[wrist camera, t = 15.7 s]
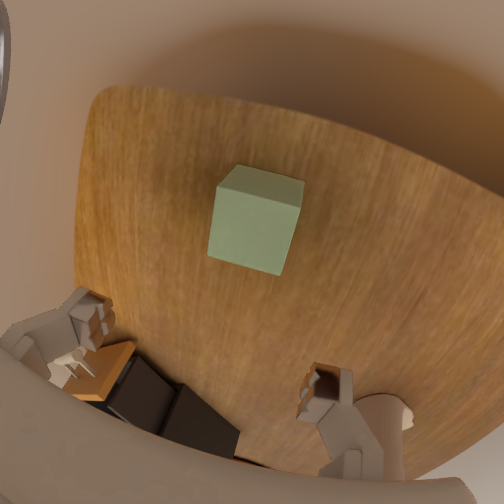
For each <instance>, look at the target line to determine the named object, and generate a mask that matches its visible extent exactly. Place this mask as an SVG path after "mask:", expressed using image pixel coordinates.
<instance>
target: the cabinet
mask: <svg viewBox="0 0 504 504" xmlns="http://www.w3.org/2000/svg"><path fill="white" fill-rule="evenodd" d="M169 386H170V387H171V388H172V389H173V390H175V391H176V392H177V394H176V396H175V399H174V401H173V403H172V406H171V408H170V410H169V413H168V415H167V417H166V420H165V422H164V424H163V427H162V429H161V431H160V434H159V437H162V438H165V439H167V440H170V441H173V442H176V443H178V444H181V445H184V446H187V447H190V448H193V449H196V450H199V451H202V452H206V453H209V454H212V455H216V456H219V457H223V458H226V459H230V460H233V456H234V453H235V449H236V445H237V442H238V438H239V434H240V431H239V430H237V429H236V428H235V427H234V426H232V425H231V424H230V423H229V422H227V421H226V420H225V419H224V418H223V417H221V416H220V415H219V414H218V413H217V412H216V411H214V410H213V409H212V408H211V407H210V406H209V405H207V404H206V403H205V402H204V401H203V400H202V399H201V398H200V397H198V396H197V395H196V394H195V393H194V392H193V391H192V390H191V389H190V388H189V387H188V386H186V385H185V384H178V385H169Z"/></svg>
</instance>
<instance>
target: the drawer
mask: <svg viewBox="0 0 504 504" xmlns="http://www.w3.org/2000/svg"><path fill="white" fill-rule="evenodd" d="M135 348H136V346H135V345H134V344H133V343H132V342H131V341H126V342H122V343H119V344H115V345H111V346H107V347H103V348H99V349H98V350H97V352H93V351H91V350H90V351H88V352H87V353H86V354H85V356H84V357H83V354H82V352H81V351H80V350H79V349H74V350H72V351H70V352H68V353H66V354H65V355H63V356H61V357H59V358H57V359H56V360H54V361H55V363H56V364H57V365H63V366H64V367H65V368H66V369H67V370H68V371H69V372H70V373H71V374H72V375H71V376H70V378H69V380H68V381H67V383H66V384H65V385H64V387H63V390H64V391H66V392H68V393H70V394H71V395H73V396H75V397H77V398H78V399H80V400H82V401H84V402H86V403H88V404H89V405H91V406H93V407H95V408H97V409H99V410H101V411H103V412H105V413H107V414H109V415H111V416H113V417H115V418H117V419H120V420H122V421H124V422H126V423H128V424H131V425H133V426H135V427H137V428H140V429H142V430H145V431H147V432H149V433H152V434H154V435H157V436H159V434H160V431H161V429H162V427H163V424H164V422H165V420H166V417H167V415H168V413H169V410H170V408H171V406H172V403H173V401H174V399H175V396H176V394H177V392H176V391H175V390H173V389H172V388H171V387H170V386H169V385H168V384H167V383H166V382H165V381H164V380H163V379H162V378H160V377H159V376H158V375H157V374H156V373H155V372H154V371H153V370H152V369H151V368H150V367H149V366H148V365H147V364H146V363H145V362H144V361H143V360H142V359H141V358H140V357H139V356H137V357H132V358H130V356H131V354H132V353H133V351H134V349H135ZM77 362H79V365H78V366H77V367H76V369H75V370H74V369H73V368H72V367H71V366H70V365H69V364H72V363H77Z"/></svg>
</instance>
